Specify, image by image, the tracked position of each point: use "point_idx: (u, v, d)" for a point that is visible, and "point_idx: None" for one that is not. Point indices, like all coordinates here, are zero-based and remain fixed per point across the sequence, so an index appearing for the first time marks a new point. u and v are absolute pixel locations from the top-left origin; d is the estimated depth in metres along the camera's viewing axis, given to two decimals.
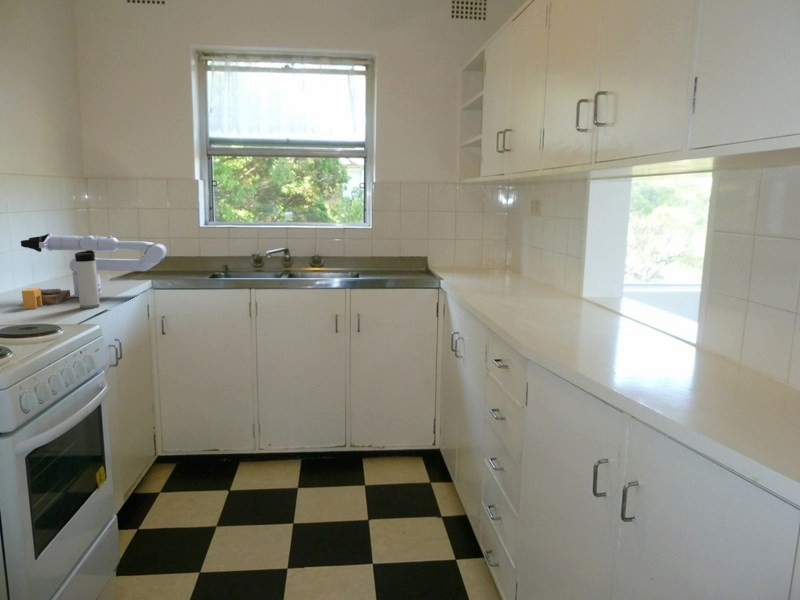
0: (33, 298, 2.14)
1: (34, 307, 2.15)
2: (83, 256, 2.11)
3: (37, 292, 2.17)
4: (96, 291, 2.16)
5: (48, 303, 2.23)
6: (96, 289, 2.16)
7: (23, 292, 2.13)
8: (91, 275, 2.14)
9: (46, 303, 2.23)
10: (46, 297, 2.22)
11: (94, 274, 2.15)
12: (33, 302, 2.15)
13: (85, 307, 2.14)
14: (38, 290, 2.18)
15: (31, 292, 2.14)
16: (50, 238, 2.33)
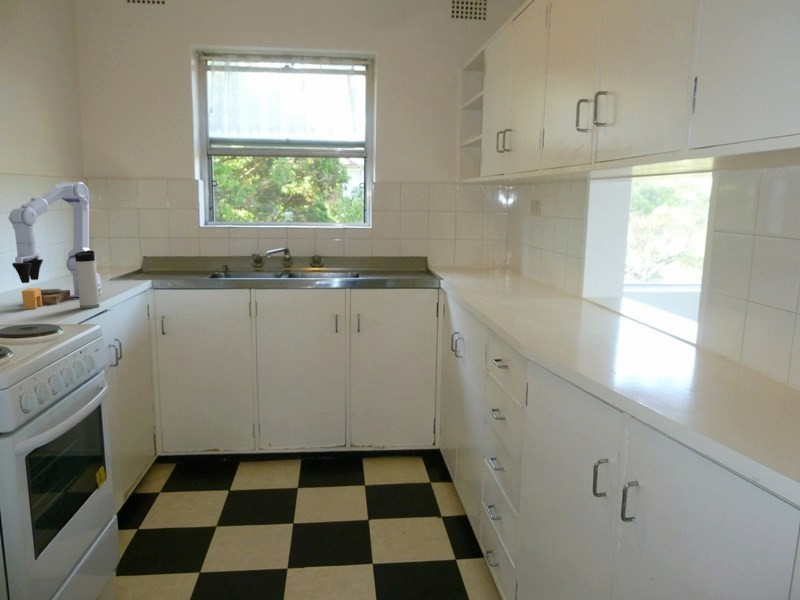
0: (33, 298, 2.14)
1: (34, 307, 2.15)
2: (83, 256, 2.11)
3: (37, 292, 2.17)
4: (96, 291, 2.16)
5: (48, 303, 2.23)
6: (96, 289, 2.16)
7: (23, 292, 2.13)
8: (91, 275, 2.14)
9: (46, 303, 2.23)
10: (46, 297, 2.22)
11: (94, 274, 2.15)
12: (33, 302, 2.15)
13: (85, 307, 2.14)
14: (38, 290, 2.18)
15: (31, 292, 2.14)
16: None
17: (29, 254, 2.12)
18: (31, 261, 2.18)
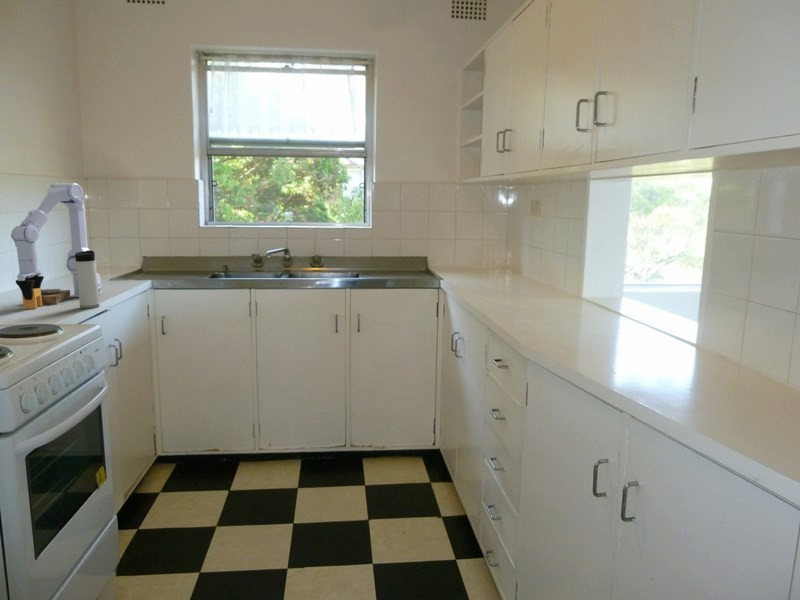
0: (33, 298, 2.14)
1: (34, 307, 2.15)
2: (83, 256, 2.11)
3: (37, 292, 2.17)
4: (96, 291, 2.16)
5: (48, 303, 2.23)
6: (96, 289, 2.16)
7: None
8: (91, 275, 2.14)
9: (46, 303, 2.23)
10: (46, 297, 2.22)
11: (94, 274, 2.15)
12: (33, 302, 2.15)
13: (85, 307, 2.14)
14: (38, 290, 2.18)
15: None
16: None
17: (31, 271, 2.13)
18: (32, 278, 2.18)
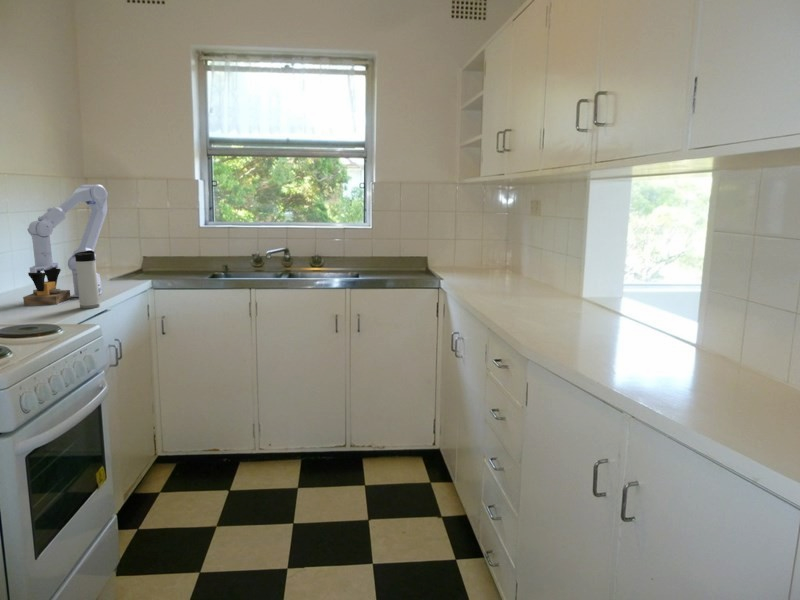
0: (46, 291, 2.26)
1: None
2: (83, 256, 2.11)
3: (51, 286, 2.28)
4: (96, 291, 2.16)
5: (48, 303, 2.23)
6: (96, 289, 2.16)
7: None
8: (91, 275, 2.14)
9: (46, 303, 2.23)
10: (46, 297, 2.22)
11: (94, 274, 2.15)
12: None
13: (85, 307, 2.14)
14: (52, 283, 2.29)
15: (44, 285, 2.25)
16: None
17: (44, 264, 2.24)
18: (49, 270, 2.31)
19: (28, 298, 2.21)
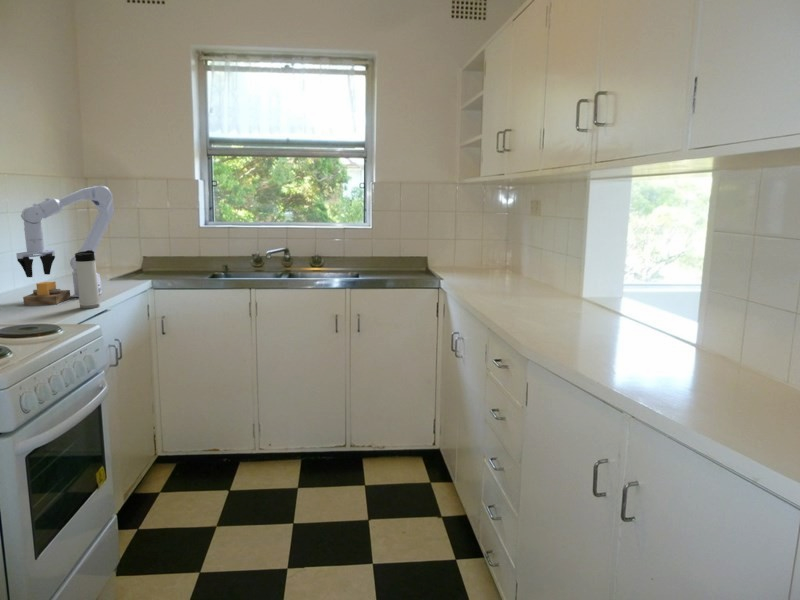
0: (46, 291, 2.26)
1: None
2: (83, 256, 2.11)
3: (51, 285, 2.28)
4: (96, 291, 2.16)
5: (48, 303, 2.23)
6: (96, 289, 2.16)
7: (37, 285, 2.25)
8: (91, 275, 2.14)
9: (46, 303, 2.23)
10: (46, 297, 2.22)
11: (94, 274, 2.15)
12: (46, 294, 2.26)
13: (85, 307, 2.14)
14: (52, 283, 2.29)
15: (44, 285, 2.25)
16: None
17: (33, 250, 2.25)
18: (44, 257, 2.32)
19: (28, 298, 2.21)
